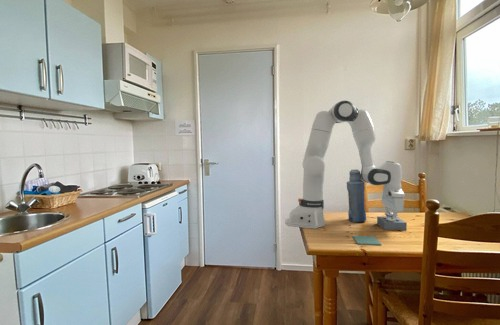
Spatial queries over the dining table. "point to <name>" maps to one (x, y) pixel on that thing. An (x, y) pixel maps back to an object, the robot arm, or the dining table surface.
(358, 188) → the bottle
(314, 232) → the dining table surface
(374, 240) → the mat
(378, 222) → the housing
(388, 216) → the end cover
